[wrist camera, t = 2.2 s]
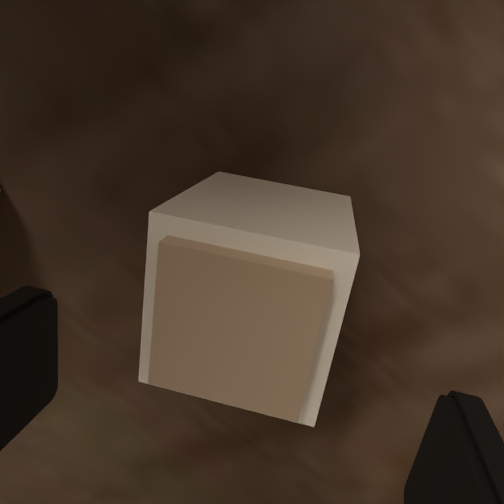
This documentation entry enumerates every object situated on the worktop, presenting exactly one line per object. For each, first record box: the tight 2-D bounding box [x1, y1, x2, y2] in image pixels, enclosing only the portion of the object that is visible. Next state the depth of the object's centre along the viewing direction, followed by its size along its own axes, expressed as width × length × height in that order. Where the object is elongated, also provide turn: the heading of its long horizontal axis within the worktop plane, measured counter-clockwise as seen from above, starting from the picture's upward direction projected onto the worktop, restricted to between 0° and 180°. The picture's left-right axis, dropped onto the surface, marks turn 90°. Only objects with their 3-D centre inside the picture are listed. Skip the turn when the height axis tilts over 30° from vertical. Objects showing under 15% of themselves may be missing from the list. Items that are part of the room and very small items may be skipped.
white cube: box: [138, 172, 360, 427], centre depth 14 cm, size 6×6×8 cm
